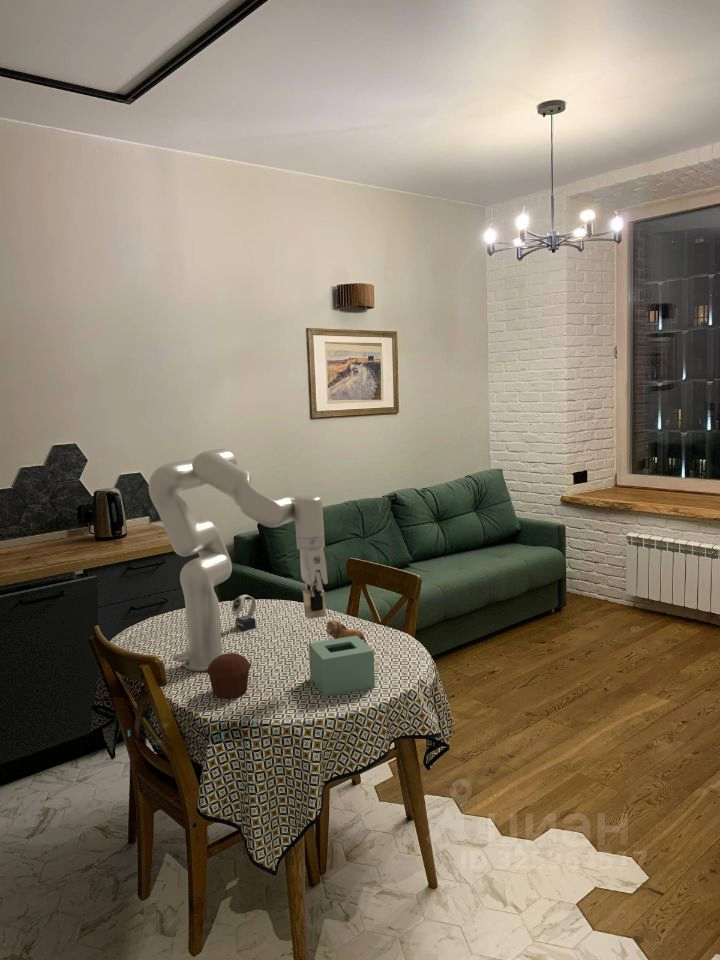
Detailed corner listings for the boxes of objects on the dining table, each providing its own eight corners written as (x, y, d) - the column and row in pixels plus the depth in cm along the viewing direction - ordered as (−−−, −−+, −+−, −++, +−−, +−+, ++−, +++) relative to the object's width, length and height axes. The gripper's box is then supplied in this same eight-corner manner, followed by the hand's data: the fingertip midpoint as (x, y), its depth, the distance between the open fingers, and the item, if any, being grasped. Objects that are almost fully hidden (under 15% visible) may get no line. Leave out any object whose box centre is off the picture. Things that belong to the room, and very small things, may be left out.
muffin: (240, 679, 200) (238, 644, 199) (260, 692, 191) (258, 656, 190) (200, 691, 193) (198, 655, 192) (219, 705, 184) (216, 667, 183)
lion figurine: (324, 651, 219) (322, 622, 218) (330, 645, 224) (329, 617, 223) (369, 655, 214) (368, 626, 213) (375, 649, 219) (374, 620, 218)
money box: (324, 696, 187) (322, 659, 186) (310, 678, 199) (308, 643, 198) (374, 687, 192) (373, 650, 190) (358, 669, 204) (356, 635, 202)
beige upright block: (308, 619, 194) (306, 593, 193) (304, 615, 197) (302, 590, 197) (326, 615, 196) (324, 590, 195) (322, 612, 199) (320, 587, 198)
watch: (231, 628, 243) (228, 596, 242) (251, 622, 248) (249, 591, 247) (239, 632, 239) (237, 600, 237) (260, 626, 244) (258, 595, 242)
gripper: (333, 545, 188) (337, 614, 190) (315, 535, 203) (319, 598, 205) (305, 549, 185) (310, 619, 187) (289, 538, 201) (293, 603, 203)
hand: (315, 607), depth 196 cm, fingers closed on beige upright block, 3 cm apart
